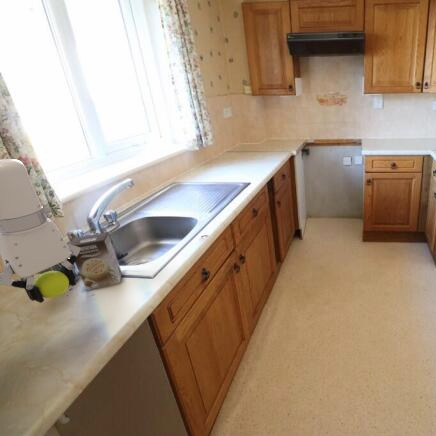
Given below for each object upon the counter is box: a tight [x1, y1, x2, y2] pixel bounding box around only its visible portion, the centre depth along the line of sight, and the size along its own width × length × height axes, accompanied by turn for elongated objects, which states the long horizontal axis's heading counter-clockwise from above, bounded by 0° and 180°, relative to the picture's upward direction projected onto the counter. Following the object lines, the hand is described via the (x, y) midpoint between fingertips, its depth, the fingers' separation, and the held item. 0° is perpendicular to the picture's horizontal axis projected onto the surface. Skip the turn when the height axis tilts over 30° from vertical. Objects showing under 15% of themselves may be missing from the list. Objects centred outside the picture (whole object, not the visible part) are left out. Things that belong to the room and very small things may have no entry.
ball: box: [34, 270, 70, 299], centre depth 73 cm, size 6×6×6 cm
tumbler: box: [49, 263, 81, 282], centre depth 101 cm, size 6×6×9 cm
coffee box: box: [69, 231, 123, 291], centre depth 98 cm, size 9×6×16 cm
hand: (55, 291), depth 73 cm, fingers closed on ball, 5 cm apart
